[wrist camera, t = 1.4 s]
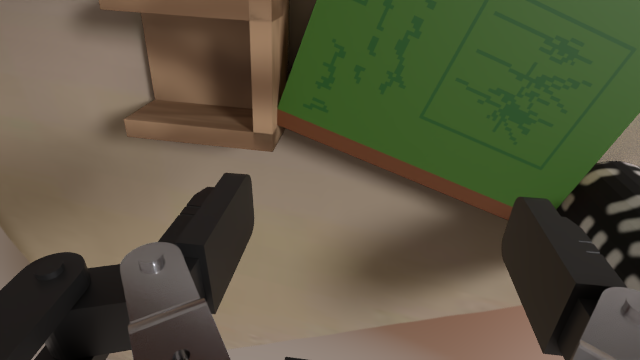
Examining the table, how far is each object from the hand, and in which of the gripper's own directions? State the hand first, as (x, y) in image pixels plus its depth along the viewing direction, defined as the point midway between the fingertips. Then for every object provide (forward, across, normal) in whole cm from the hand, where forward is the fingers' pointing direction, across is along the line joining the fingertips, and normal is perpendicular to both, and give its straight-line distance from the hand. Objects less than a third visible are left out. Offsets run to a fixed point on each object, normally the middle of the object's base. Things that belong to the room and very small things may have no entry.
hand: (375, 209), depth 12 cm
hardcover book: (+23, -7, 0) cm, 24 cm away
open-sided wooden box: (+22, +13, +1) cm, 26 cm away
